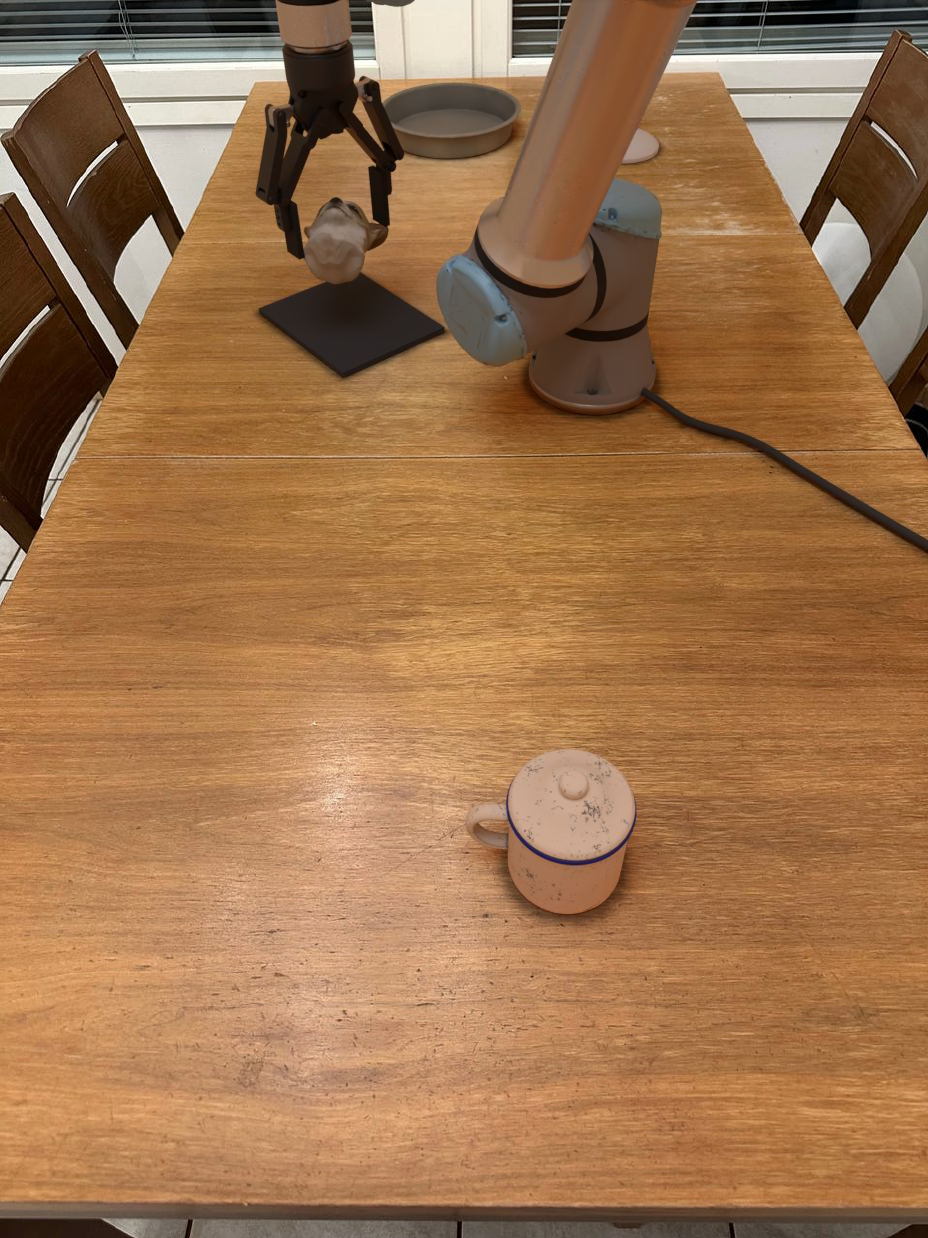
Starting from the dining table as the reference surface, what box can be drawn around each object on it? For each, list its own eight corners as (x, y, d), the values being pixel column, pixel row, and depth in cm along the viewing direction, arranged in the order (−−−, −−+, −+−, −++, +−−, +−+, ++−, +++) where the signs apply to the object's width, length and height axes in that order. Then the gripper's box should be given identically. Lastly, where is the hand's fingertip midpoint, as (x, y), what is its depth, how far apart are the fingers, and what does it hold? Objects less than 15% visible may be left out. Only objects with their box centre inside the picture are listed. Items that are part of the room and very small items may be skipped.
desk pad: (444, 332, 123) (444, 326, 123) (343, 378, 117) (342, 372, 116) (357, 274, 134) (356, 269, 133) (259, 313, 127) (258, 308, 127)
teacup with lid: (621, 814, 75) (639, 729, 67) (625, 923, 69) (645, 845, 60) (471, 805, 76) (469, 719, 67) (462, 912, 70) (458, 833, 61)
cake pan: (545, 123, 169) (546, 96, 165) (473, 174, 155) (472, 146, 152) (430, 98, 178) (429, 71, 174) (352, 144, 164) (349, 116, 161)
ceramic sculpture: (278, 219, 108) (305, 171, 118) (288, 291, 114) (313, 240, 125) (370, 222, 107) (389, 174, 118) (375, 295, 113) (393, 243, 124)
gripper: (387, 8, 107) (400, 198, 123) (198, 58, 97) (238, 258, 113) (428, 24, 103) (435, 218, 120) (235, 78, 93) (271, 282, 109)
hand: (339, 238), depth 116 cm, fingers closed on ceramic sculpture, 12 cm apart
